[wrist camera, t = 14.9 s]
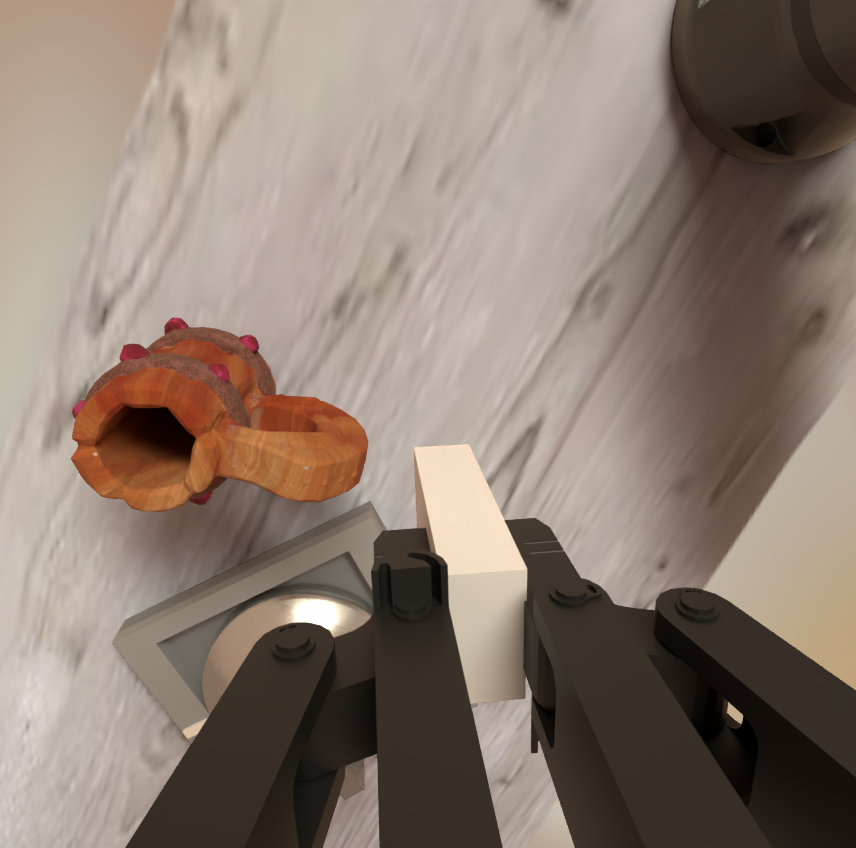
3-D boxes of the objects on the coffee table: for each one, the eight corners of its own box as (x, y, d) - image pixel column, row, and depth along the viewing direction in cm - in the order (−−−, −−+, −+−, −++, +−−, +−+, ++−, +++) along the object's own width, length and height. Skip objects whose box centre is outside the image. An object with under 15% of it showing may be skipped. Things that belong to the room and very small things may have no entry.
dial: (168, 644, 45) (141, 704, 40) (336, 549, 44) (333, 597, 39) (278, 770, 50) (267, 840, 44) (432, 686, 49) (442, 747, 43)
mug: (133, 423, 42) (18, 524, 28) (147, 301, 40) (30, 343, 25) (351, 462, 44) (348, 574, 30) (375, 350, 42) (385, 413, 28)
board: (370, 501, 45) (371, 519, 43) (471, 681, 51) (478, 708, 48) (125, 620, 46) (110, 646, 43) (251, 785, 52) (245, 817, 49)
